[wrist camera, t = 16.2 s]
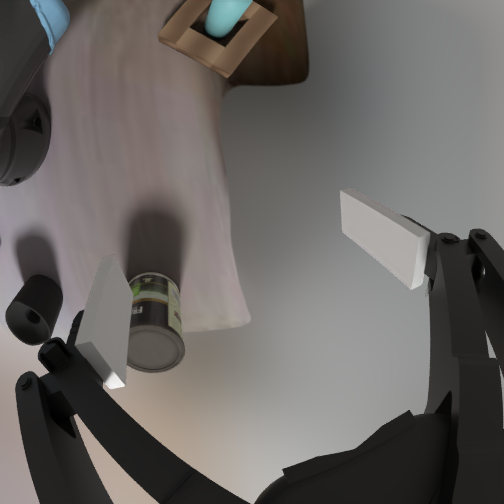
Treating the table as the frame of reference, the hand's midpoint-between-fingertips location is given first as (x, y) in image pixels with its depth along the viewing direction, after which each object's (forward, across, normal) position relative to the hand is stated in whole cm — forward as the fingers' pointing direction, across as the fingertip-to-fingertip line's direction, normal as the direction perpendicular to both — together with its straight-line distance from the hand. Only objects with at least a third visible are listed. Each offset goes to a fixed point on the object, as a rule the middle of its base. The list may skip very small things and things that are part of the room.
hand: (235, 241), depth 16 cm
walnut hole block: (+30, +7, +19) cm, 37 cm away
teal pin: (+30, +7, +19) cm, 36 cm away
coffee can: (+30, -14, -22) cm, 40 cm away
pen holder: (+30, -35, -14) cm, 49 cm away
